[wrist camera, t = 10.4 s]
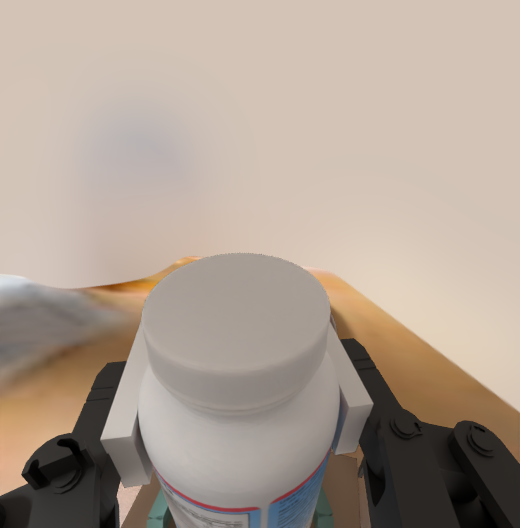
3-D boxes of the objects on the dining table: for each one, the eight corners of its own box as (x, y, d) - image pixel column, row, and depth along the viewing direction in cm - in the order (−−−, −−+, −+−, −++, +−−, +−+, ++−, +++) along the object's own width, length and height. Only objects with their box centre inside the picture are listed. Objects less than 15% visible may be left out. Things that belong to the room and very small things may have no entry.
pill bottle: (281, 411, 16) (298, 233, 10) (338, 553, 11) (433, 357, 5) (173, 444, 14) (122, 253, 9) (180, 629, 9) (70, 466, 4)
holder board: (76, 635, 13) (56, 624, 11) (182, 420, 22) (178, 399, 20) (366, 775, 10) (385, 783, 9) (353, 467, 19) (361, 447, 18)
